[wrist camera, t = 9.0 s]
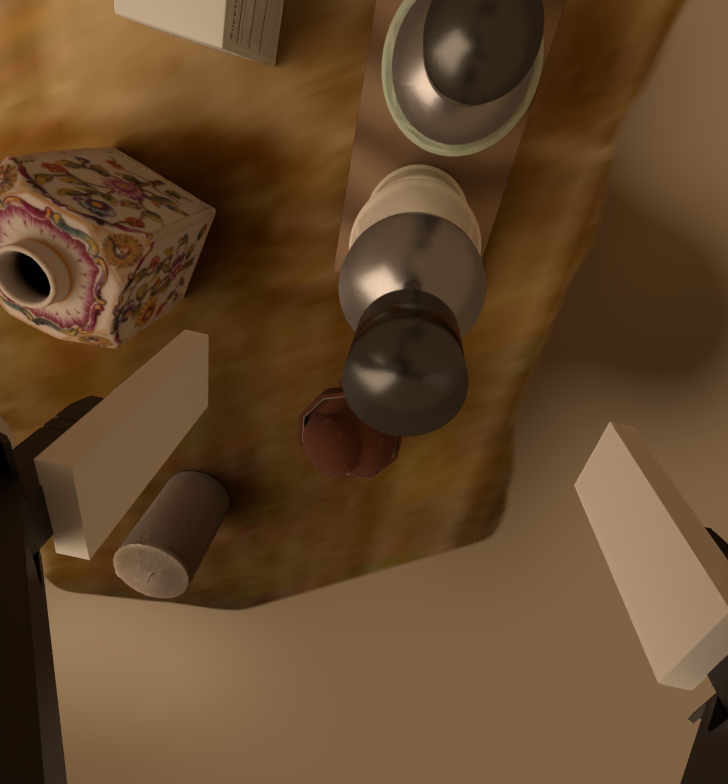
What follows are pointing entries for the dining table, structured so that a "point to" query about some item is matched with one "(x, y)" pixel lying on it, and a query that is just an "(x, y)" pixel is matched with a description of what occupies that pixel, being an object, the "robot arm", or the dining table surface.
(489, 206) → the walnut board
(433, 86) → the sage plunger
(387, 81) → the sage press body
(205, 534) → the pillar candle
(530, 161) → the dining table surface
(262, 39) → the supplement box
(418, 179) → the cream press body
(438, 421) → the cream press plunger
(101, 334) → the decorative jar
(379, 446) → the ice cream bowl
